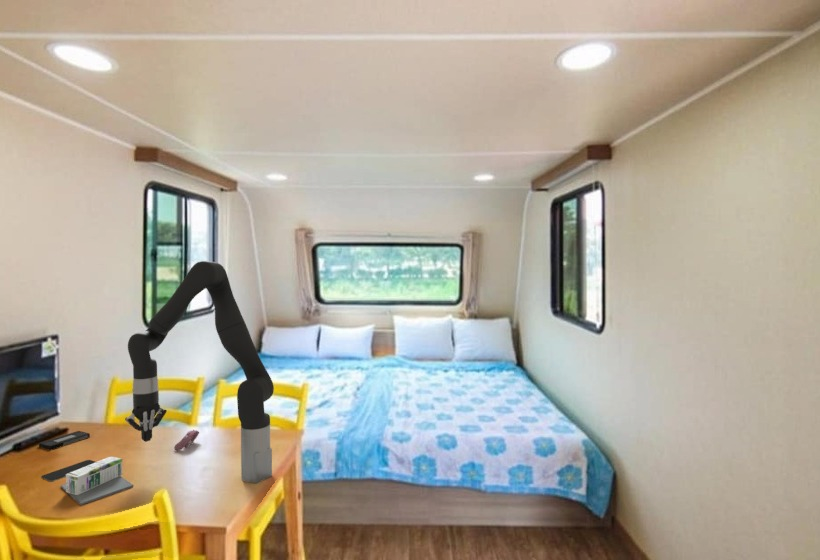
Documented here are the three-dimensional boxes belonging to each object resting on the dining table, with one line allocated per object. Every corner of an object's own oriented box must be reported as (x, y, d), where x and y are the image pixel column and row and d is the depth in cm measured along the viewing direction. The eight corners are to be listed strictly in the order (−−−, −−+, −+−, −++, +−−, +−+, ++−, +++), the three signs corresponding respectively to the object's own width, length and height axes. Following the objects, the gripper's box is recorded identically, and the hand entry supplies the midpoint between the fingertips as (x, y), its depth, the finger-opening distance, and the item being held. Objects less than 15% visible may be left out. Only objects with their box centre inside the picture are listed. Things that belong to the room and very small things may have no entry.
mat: (133, 486, 143) (133, 484, 143) (80, 505, 132) (80, 503, 132) (110, 471, 154) (110, 469, 154) (60, 487, 143) (60, 485, 143)
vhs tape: (89, 438, 185) (89, 433, 185) (50, 451, 172) (50, 446, 172) (78, 435, 188) (78, 430, 188) (38, 448, 175) (38, 442, 175)
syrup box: (123, 475, 150) (77, 496, 136) (110, 472, 152) (64, 492, 138) (122, 458, 150) (77, 477, 136) (110, 455, 152) (64, 474, 138)
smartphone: (100, 463, 160) (51, 480, 146) (100, 465, 160) (51, 483, 146) (88, 459, 163) (39, 476, 150) (88, 461, 163) (39, 478, 150)
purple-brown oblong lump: (183, 455, 171) (191, 439, 171) (172, 449, 171) (180, 433, 171) (195, 445, 181) (203, 429, 181) (185, 439, 181) (193, 424, 181)
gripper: (129, 396, 146) (130, 449, 146) (171, 387, 156) (172, 437, 157) (119, 392, 150) (120, 444, 150) (160, 384, 161) (161, 432, 161)
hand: (147, 440), depth 154 cm, fingers closed
